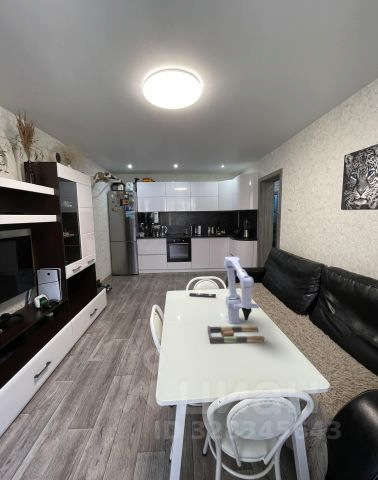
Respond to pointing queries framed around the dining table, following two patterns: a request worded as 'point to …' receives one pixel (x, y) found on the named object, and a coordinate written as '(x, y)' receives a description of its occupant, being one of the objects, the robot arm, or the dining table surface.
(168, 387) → the dining table surface
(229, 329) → the tan wooden block
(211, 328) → the trap lane
